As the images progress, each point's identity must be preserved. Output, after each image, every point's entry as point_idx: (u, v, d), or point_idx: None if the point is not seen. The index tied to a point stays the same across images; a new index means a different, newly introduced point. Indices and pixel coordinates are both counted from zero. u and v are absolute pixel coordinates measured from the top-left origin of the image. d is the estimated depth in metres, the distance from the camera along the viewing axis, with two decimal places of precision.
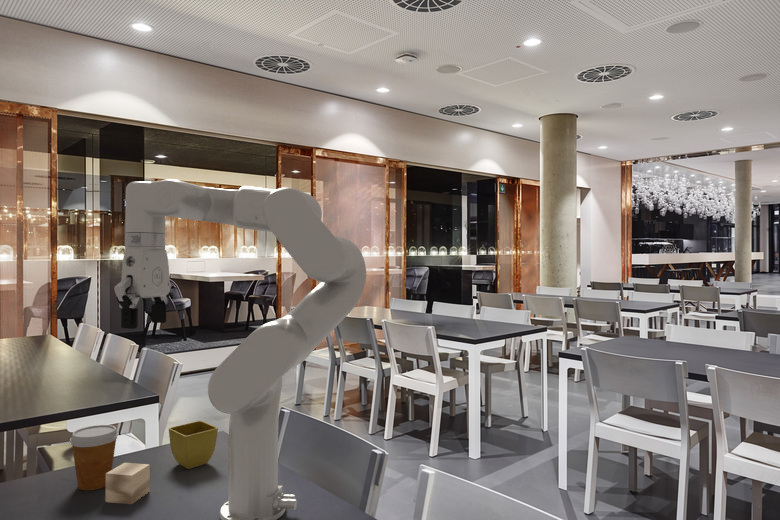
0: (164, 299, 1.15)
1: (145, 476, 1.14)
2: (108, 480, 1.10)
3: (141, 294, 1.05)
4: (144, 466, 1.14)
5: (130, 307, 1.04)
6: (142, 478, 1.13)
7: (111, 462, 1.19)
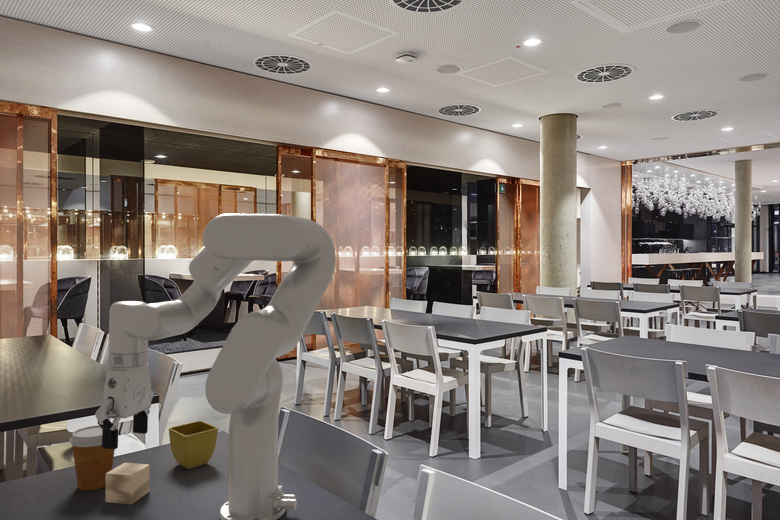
0: (146, 410, 1.18)
1: (145, 476, 1.14)
2: (108, 480, 1.10)
3: (122, 416, 1.08)
4: (144, 466, 1.14)
5: (111, 429, 1.07)
6: (142, 478, 1.13)
7: (111, 462, 1.19)
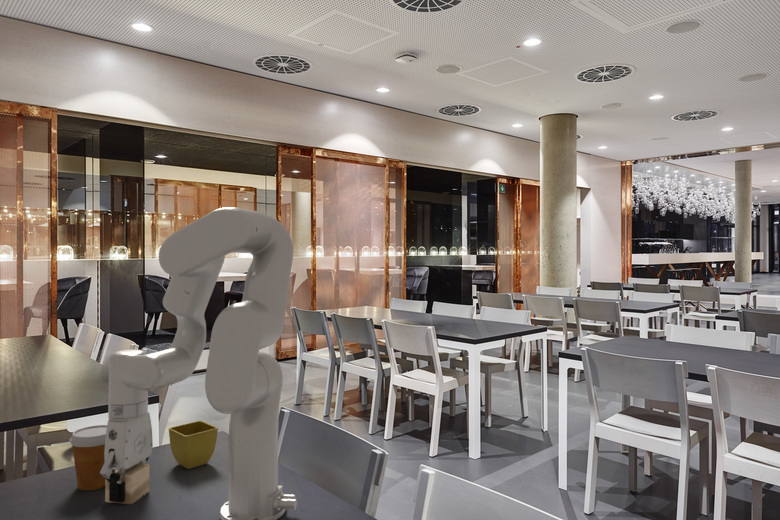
0: None
1: (145, 476, 1.14)
2: None
3: (124, 467, 1.08)
4: (144, 466, 1.14)
5: (118, 483, 1.09)
6: (142, 478, 1.13)
7: None
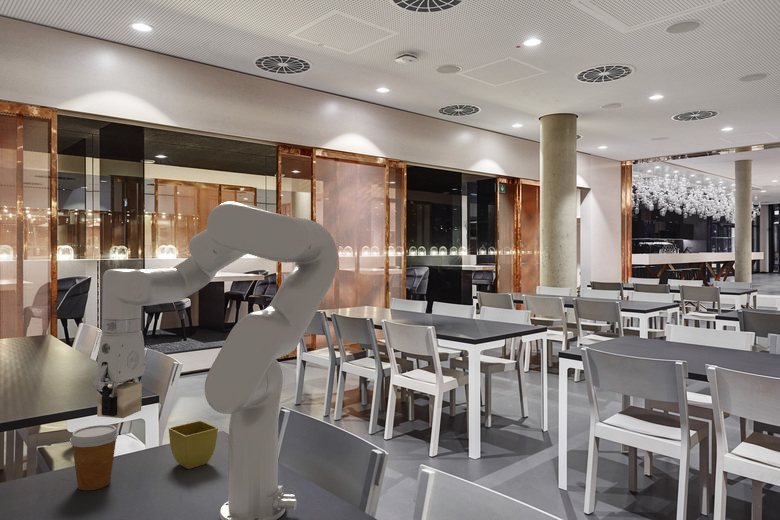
0: None
1: (137, 394, 1.15)
2: None
3: (116, 380, 1.09)
4: (136, 384, 1.16)
5: (110, 397, 1.10)
6: (134, 394, 1.14)
7: (111, 462, 1.19)
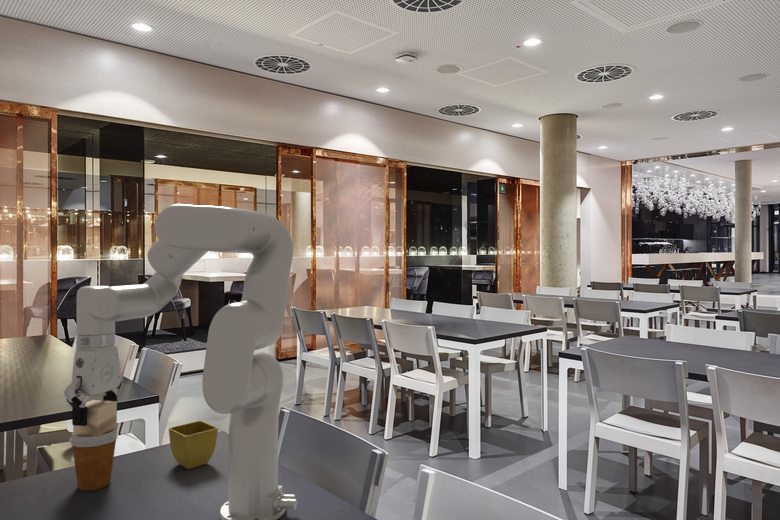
0: (115, 391, 1.23)
1: (112, 412, 1.20)
2: None
3: (90, 393, 1.14)
4: (111, 402, 1.20)
5: (80, 407, 1.13)
6: (109, 413, 1.19)
7: (111, 462, 1.19)
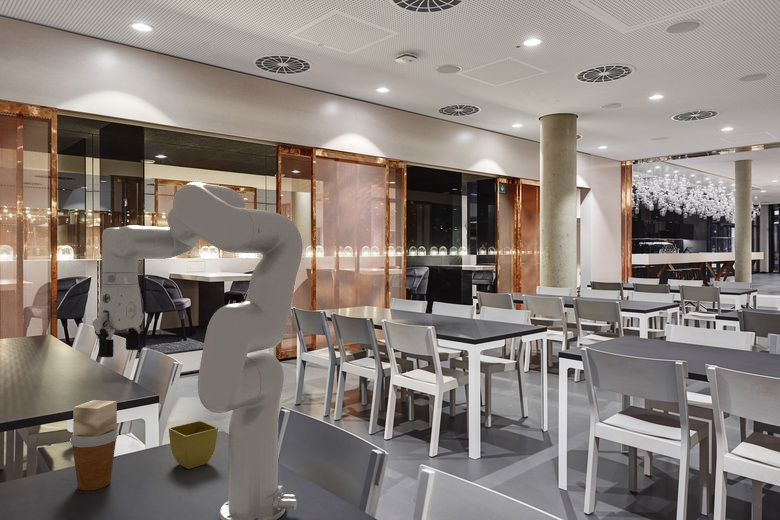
0: (137, 329, 1.30)
1: (112, 412, 1.20)
2: (76, 413, 1.16)
3: (117, 327, 1.20)
4: (111, 402, 1.20)
5: (107, 339, 1.19)
6: (109, 413, 1.19)
7: (111, 462, 1.19)
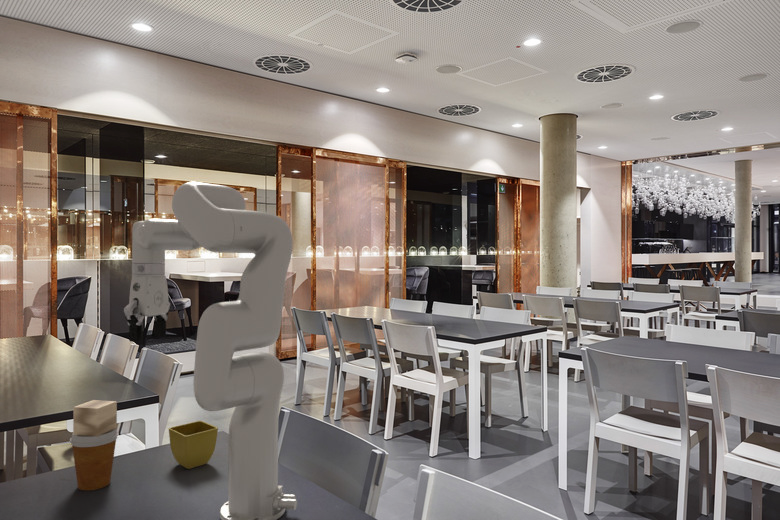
0: (164, 316, 1.39)
1: (112, 412, 1.20)
2: (76, 413, 1.16)
3: (145, 313, 1.29)
4: (111, 402, 1.20)
5: (136, 324, 1.28)
6: (109, 413, 1.19)
7: (111, 462, 1.19)
